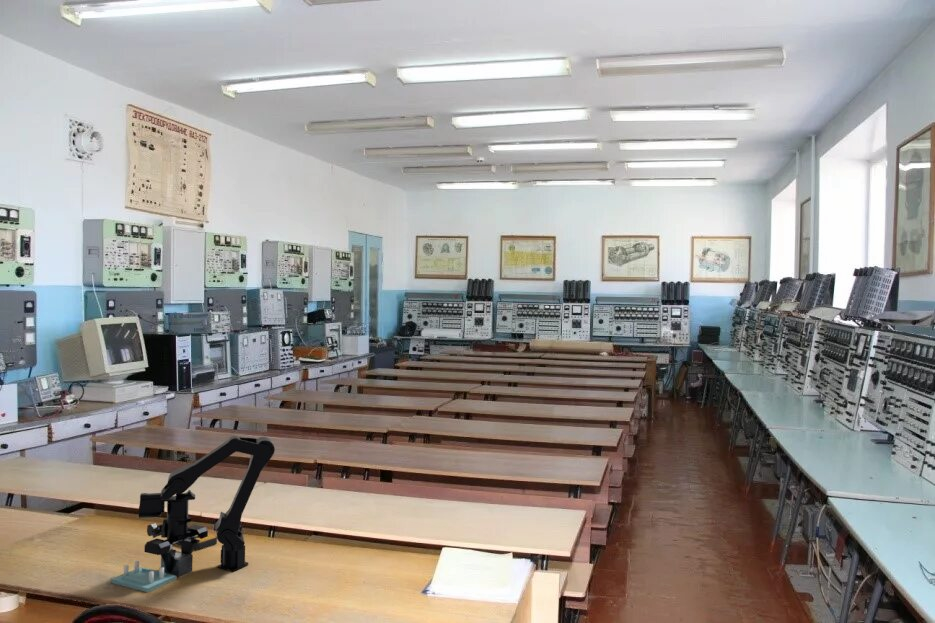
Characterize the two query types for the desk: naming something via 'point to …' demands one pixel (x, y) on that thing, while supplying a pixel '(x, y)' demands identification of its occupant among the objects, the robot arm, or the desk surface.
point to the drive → (180, 564)
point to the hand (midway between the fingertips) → (176, 568)
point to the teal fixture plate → (143, 578)
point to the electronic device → (205, 542)
